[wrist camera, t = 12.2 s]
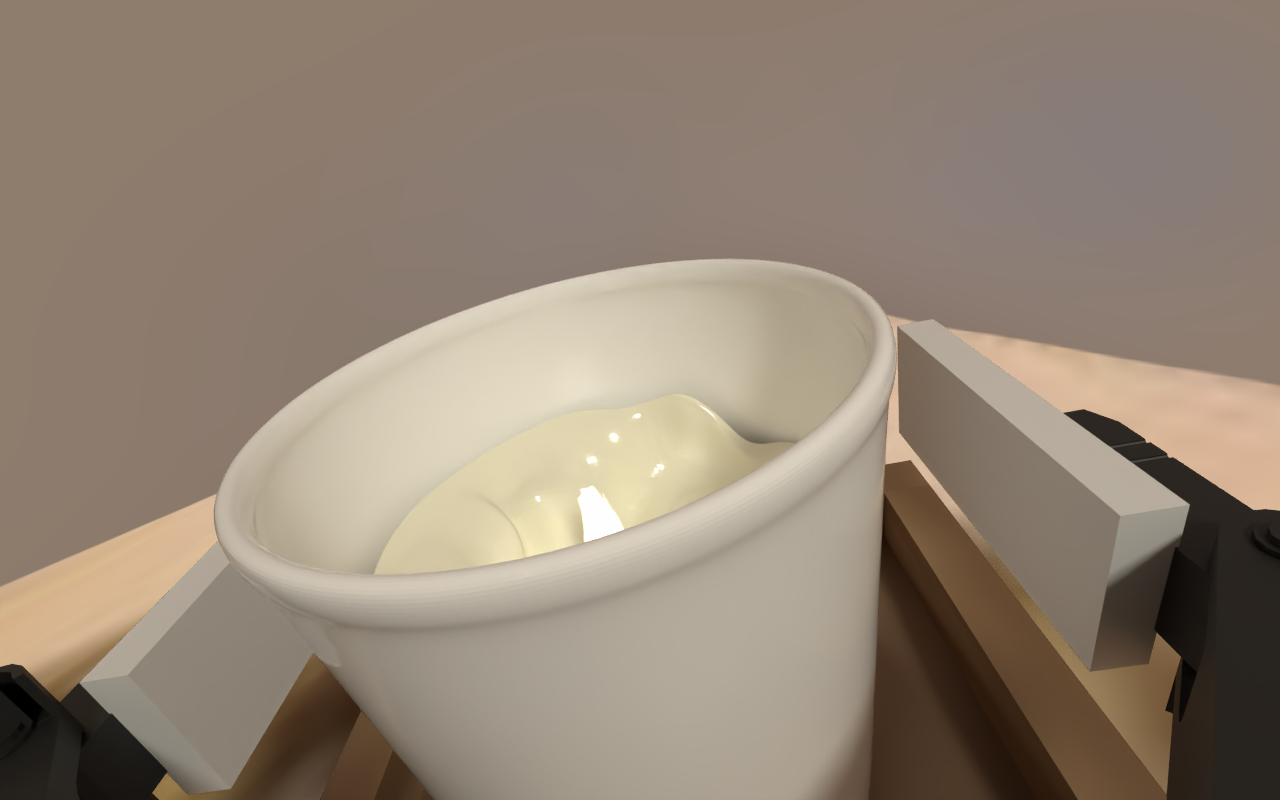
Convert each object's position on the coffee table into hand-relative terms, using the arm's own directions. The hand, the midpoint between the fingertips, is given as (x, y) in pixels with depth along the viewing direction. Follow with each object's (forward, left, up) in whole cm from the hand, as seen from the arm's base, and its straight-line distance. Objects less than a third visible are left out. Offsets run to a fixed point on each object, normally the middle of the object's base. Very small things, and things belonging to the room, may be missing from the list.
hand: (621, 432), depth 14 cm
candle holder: (0, -3, -9) cm, 9 cm away
